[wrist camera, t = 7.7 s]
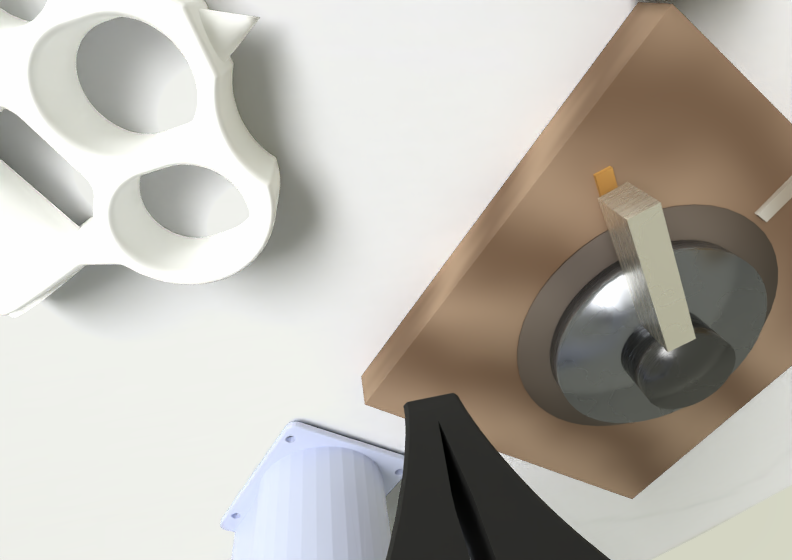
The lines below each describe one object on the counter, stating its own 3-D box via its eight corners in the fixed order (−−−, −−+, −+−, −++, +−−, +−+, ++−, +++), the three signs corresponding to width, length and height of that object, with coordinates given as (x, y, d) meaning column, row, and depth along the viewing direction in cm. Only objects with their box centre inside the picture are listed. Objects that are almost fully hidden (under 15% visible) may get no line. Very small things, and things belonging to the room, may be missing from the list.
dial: (760, 351, 25) (810, 392, 23) (583, 435, 27) (612, 482, 24) (722, 112, 18) (789, 132, 16) (484, 244, 20) (509, 283, 17)
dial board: (615, 472, 33) (633, 501, 31) (361, 376, 25) (365, 407, 23) (882, 238, 26) (927, 257, 24) (638, 2, 18) (676, 4, 16)
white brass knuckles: (-450, -74, 13) (-95, -501, 11) (100, 337, 22) (363, 156, 20) (-657, -91, 10) (-242, -677, 8) (69, 388, 20) (371, 185, 17)
